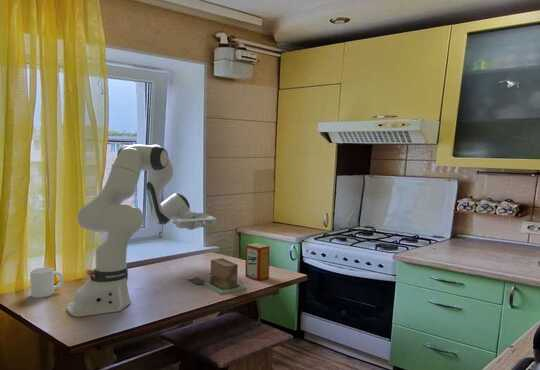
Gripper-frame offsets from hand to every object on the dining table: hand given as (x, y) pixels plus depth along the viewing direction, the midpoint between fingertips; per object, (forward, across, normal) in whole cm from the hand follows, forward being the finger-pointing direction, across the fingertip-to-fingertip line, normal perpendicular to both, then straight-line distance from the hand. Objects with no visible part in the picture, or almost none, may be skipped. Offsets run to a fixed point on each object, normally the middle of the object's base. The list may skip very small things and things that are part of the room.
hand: (203, 225), depth 198 cm
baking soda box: (+16, +21, +24) cm, 36 cm away
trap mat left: (+7, -6, +25) cm, 26 cm away
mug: (-12, -64, +27) cm, 71 cm away
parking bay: (+20, +1, +24) cm, 31 cm away
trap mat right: (+4, +8, +24) cm, 26 cm away
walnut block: (+19, +1, +24) cm, 31 cm away
